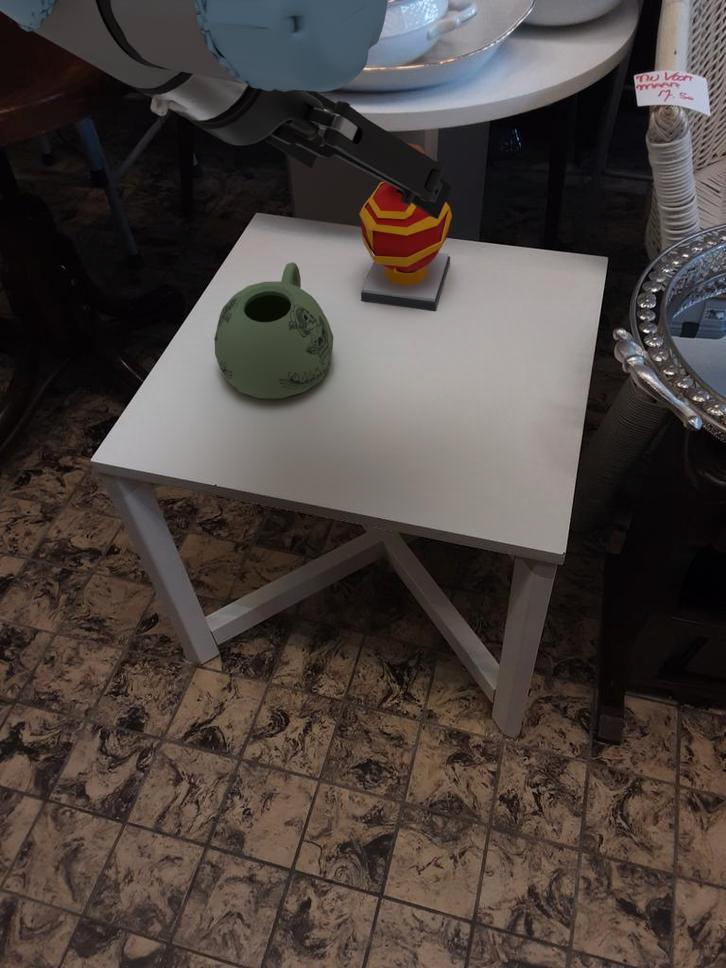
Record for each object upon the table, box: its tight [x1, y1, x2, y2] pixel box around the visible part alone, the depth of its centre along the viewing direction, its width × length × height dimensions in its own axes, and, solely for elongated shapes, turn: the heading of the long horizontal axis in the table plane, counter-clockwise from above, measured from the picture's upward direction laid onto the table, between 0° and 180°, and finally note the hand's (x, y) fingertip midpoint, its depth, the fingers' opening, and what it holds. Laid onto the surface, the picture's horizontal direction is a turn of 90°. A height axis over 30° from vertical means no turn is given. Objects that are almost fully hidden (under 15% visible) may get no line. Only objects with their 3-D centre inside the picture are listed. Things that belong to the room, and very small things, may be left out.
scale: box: [360, 252, 451, 312], centre depth 93 cm, size 9×9×2 cm
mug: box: [214, 261, 334, 399], centre depth 83 cm, size 16×13×9 cm
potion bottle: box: [358, 142, 453, 286], centre depth 86 cm, size 10×10×15 cm
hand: (375, 176), depth 66 cm, fingers open, 13 cm apart
